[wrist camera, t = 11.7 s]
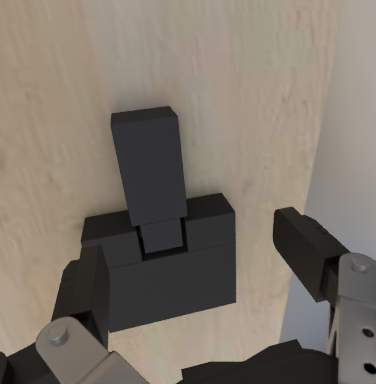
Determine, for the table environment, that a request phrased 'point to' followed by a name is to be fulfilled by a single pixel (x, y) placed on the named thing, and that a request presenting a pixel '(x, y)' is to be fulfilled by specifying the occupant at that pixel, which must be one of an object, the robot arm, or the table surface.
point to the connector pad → (152, 174)
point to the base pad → (168, 264)
